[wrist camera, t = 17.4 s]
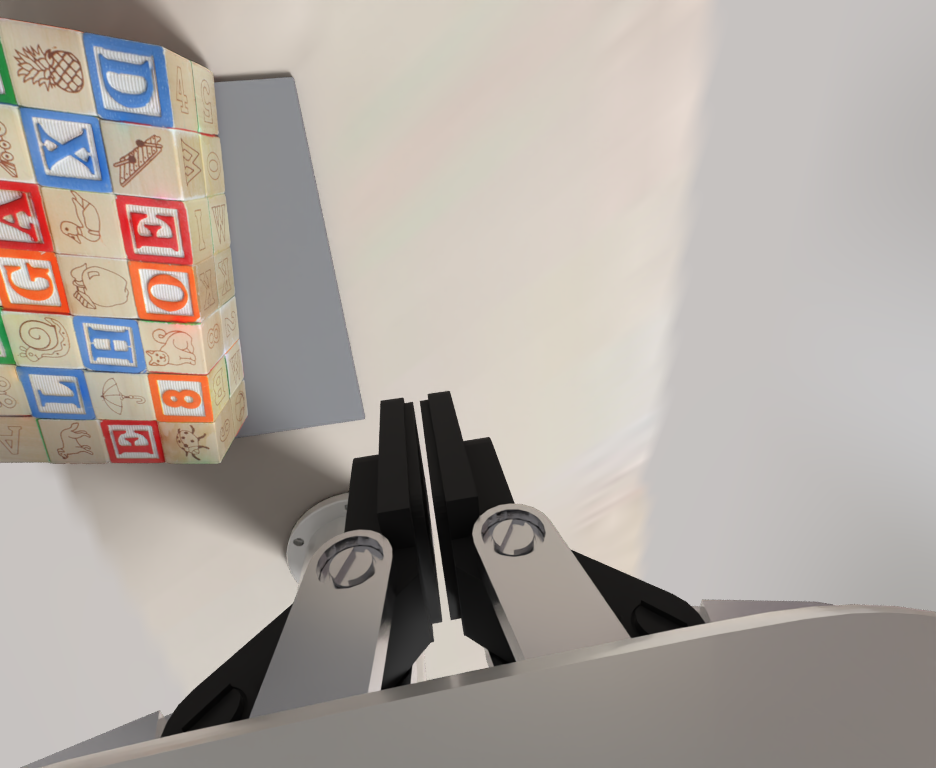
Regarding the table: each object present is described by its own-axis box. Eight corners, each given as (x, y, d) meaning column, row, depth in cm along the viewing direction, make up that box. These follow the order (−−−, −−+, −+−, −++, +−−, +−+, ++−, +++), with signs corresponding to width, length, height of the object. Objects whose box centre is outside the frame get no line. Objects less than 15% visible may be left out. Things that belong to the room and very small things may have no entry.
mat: (365, 416, 35) (364, 419, 35) (146, 448, 34) (143, 451, 33) (294, 78, 26) (292, 77, 25) (-20, 99, 24) (-26, 99, 24)
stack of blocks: (218, 70, 25) (-56, 25, 22) (167, 43, 19) (-206, -20, 17) (248, 417, 33) (55, 410, 31) (219, 468, 28) (-19, 464, 26)
